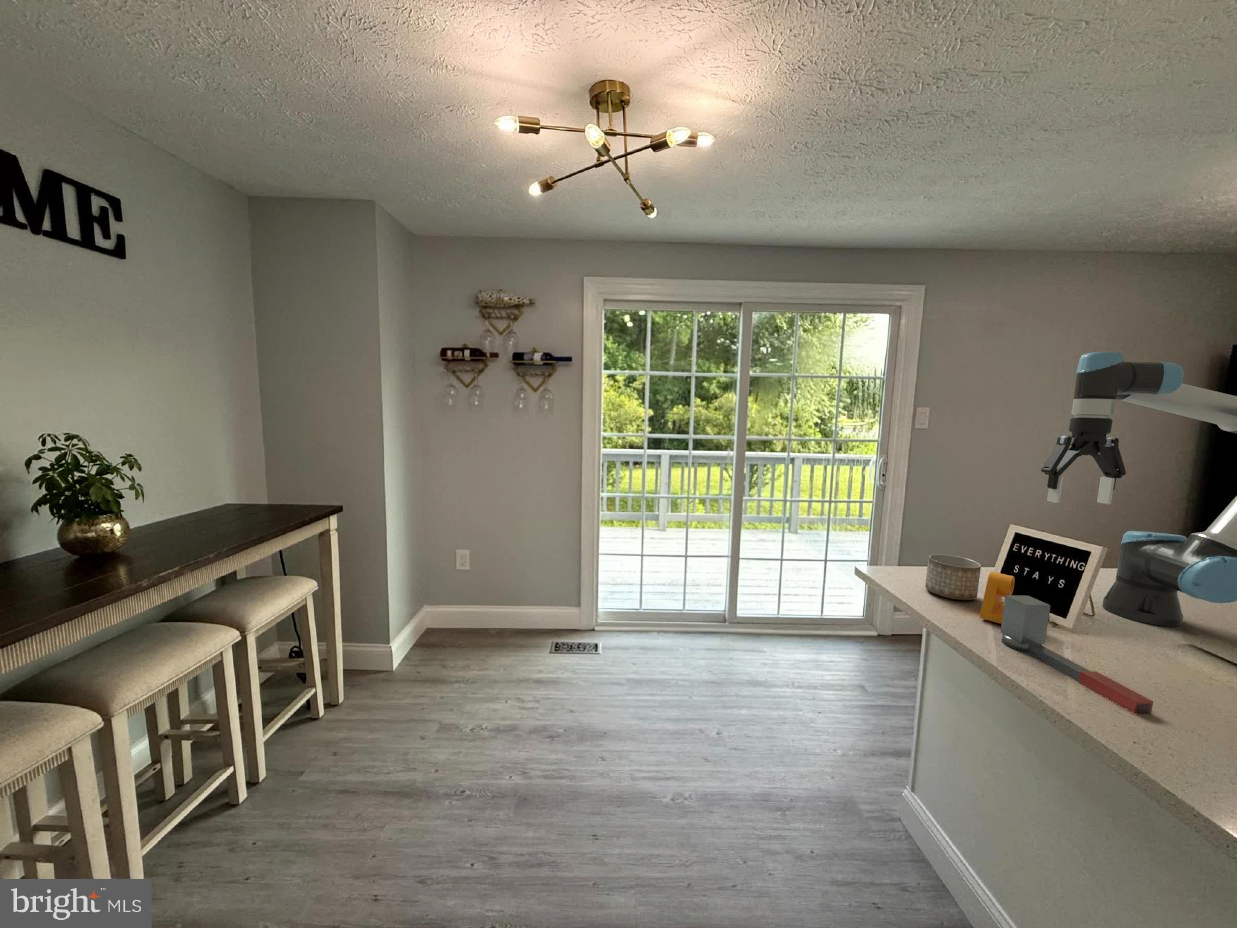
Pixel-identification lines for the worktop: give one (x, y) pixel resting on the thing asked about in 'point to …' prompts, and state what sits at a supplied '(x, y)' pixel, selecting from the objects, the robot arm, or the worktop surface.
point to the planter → (953, 576)
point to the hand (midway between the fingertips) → (1078, 502)
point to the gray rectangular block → (1025, 619)
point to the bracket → (996, 596)
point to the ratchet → (1086, 677)
